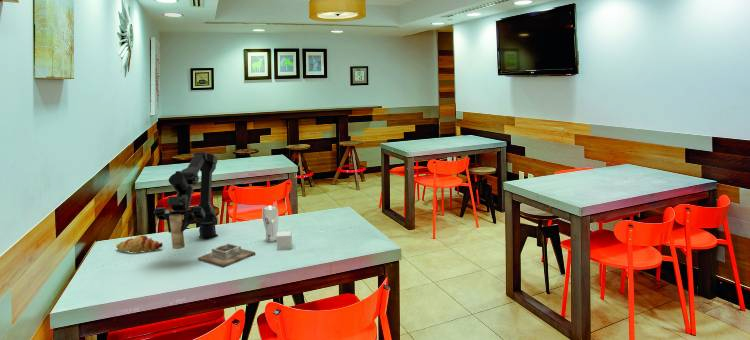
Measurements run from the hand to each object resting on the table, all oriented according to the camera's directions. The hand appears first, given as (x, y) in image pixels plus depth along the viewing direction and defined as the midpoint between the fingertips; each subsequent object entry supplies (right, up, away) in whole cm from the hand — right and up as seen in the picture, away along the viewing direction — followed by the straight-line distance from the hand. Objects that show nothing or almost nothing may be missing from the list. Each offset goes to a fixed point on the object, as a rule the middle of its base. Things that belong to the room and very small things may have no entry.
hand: (175, 232), depth 184 cm
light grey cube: (+39, -9, +19) cm, 45 cm away
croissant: (-25, -11, +22) cm, 35 cm away
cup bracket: (+17, -11, +9) cm, 23 cm away
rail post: (0, -6, +3) cm, 7 cm away
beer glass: (+32, -7, +29) cm, 44 cm away
